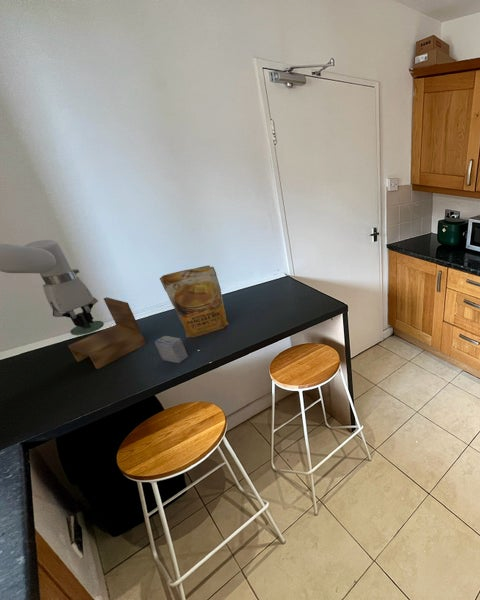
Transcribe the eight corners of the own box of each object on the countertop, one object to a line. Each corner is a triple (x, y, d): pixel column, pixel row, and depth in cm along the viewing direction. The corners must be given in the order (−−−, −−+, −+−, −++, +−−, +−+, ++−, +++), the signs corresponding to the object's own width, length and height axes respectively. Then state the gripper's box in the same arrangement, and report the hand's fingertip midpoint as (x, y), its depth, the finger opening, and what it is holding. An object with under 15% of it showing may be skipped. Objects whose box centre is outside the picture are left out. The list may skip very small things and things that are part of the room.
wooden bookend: (97, 369, 113) (72, 324, 105) (76, 361, 118) (50, 317, 109) (146, 343, 127) (127, 302, 119) (126, 337, 132) (106, 297, 123)
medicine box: (188, 356, 120) (181, 338, 116) (178, 364, 116) (170, 344, 112) (172, 353, 121) (164, 335, 118) (162, 360, 118) (153, 341, 114)
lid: (80, 337, 109) (71, 322, 106) (65, 332, 112) (56, 317, 109) (109, 324, 116) (102, 310, 113) (94, 320, 119) (87, 306, 116)
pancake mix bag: (181, 334, 133) (157, 273, 121) (229, 320, 144) (212, 263, 131) (183, 341, 129) (159, 279, 116) (233, 326, 139) (216, 267, 127)
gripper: (82, 267, 112) (104, 312, 121) (21, 285, 99) (51, 333, 108) (94, 270, 110) (116, 315, 118) (34, 288, 97) (63, 338, 105)
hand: (85, 323), depth 113 cm, fingers closed on lid
